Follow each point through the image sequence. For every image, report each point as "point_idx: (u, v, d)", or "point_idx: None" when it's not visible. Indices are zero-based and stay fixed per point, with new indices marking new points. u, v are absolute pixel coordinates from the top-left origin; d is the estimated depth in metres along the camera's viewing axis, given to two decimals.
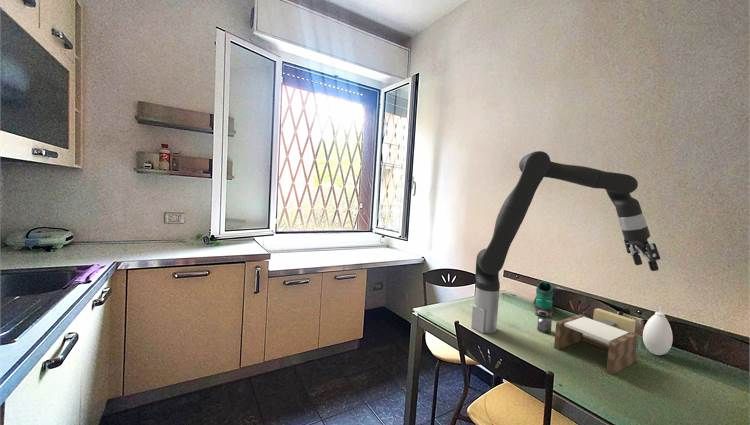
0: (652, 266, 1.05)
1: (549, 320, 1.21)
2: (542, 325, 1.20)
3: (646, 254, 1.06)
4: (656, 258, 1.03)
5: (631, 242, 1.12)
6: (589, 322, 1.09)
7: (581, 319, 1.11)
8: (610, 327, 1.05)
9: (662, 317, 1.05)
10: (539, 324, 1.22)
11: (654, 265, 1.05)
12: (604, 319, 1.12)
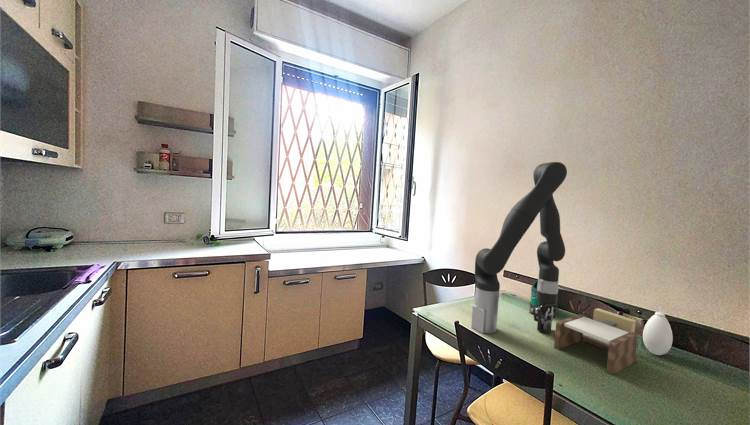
0: None
1: (549, 320, 1.21)
2: None
3: None
4: (537, 320, 1.19)
5: None
6: (589, 322, 1.09)
7: (581, 319, 1.11)
8: (610, 327, 1.05)
9: (662, 317, 1.05)
10: None
11: (538, 326, 1.21)
12: (604, 319, 1.12)
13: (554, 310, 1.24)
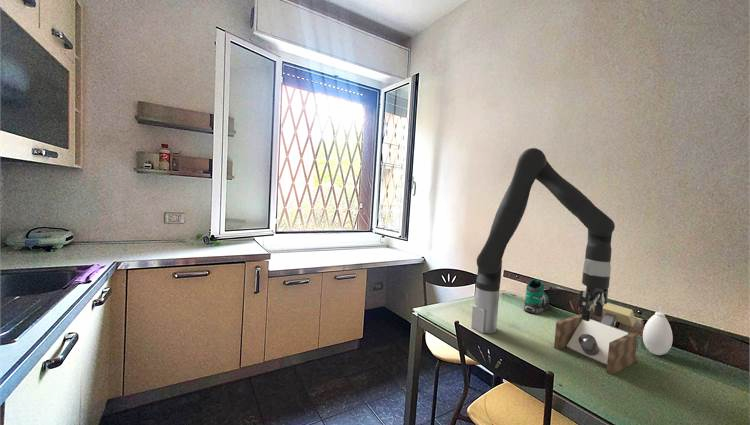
0: None
1: (592, 341, 1.01)
2: (587, 349, 1.01)
3: None
4: (583, 307, 0.98)
5: None
6: (589, 329, 1.09)
7: (581, 326, 1.11)
8: (610, 330, 1.05)
9: (662, 317, 1.05)
10: (583, 348, 1.03)
11: (584, 314, 1.00)
12: (603, 312, 1.11)
13: (604, 295, 1.04)
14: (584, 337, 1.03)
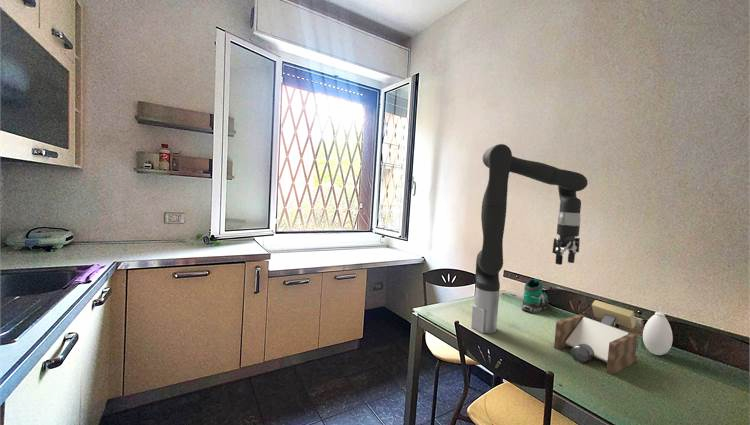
0: None
1: (583, 355, 0.98)
2: None
3: (558, 248, 1.17)
4: (556, 251, 1.15)
5: None
6: (589, 328, 1.09)
7: (581, 324, 1.11)
8: (610, 329, 1.05)
9: (662, 317, 1.05)
10: None
11: (557, 258, 1.16)
12: (603, 313, 1.11)
13: (576, 244, 1.20)
14: (575, 350, 1.01)
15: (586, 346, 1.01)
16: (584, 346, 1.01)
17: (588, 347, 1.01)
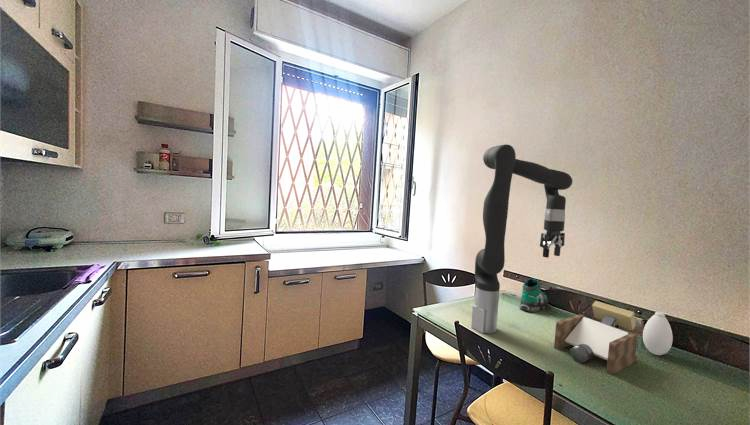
0: None
1: (582, 355, 0.98)
2: None
3: (545, 242, 1.26)
4: (543, 245, 1.24)
5: None
6: (589, 327, 1.09)
7: (581, 324, 1.11)
8: (610, 329, 1.05)
9: (662, 317, 1.05)
10: None
11: (544, 252, 1.25)
12: (604, 313, 1.12)
13: (562, 238, 1.29)
14: (574, 351, 1.01)
15: (585, 346, 1.01)
16: (583, 346, 1.00)
17: (587, 347, 1.00)
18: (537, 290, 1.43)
